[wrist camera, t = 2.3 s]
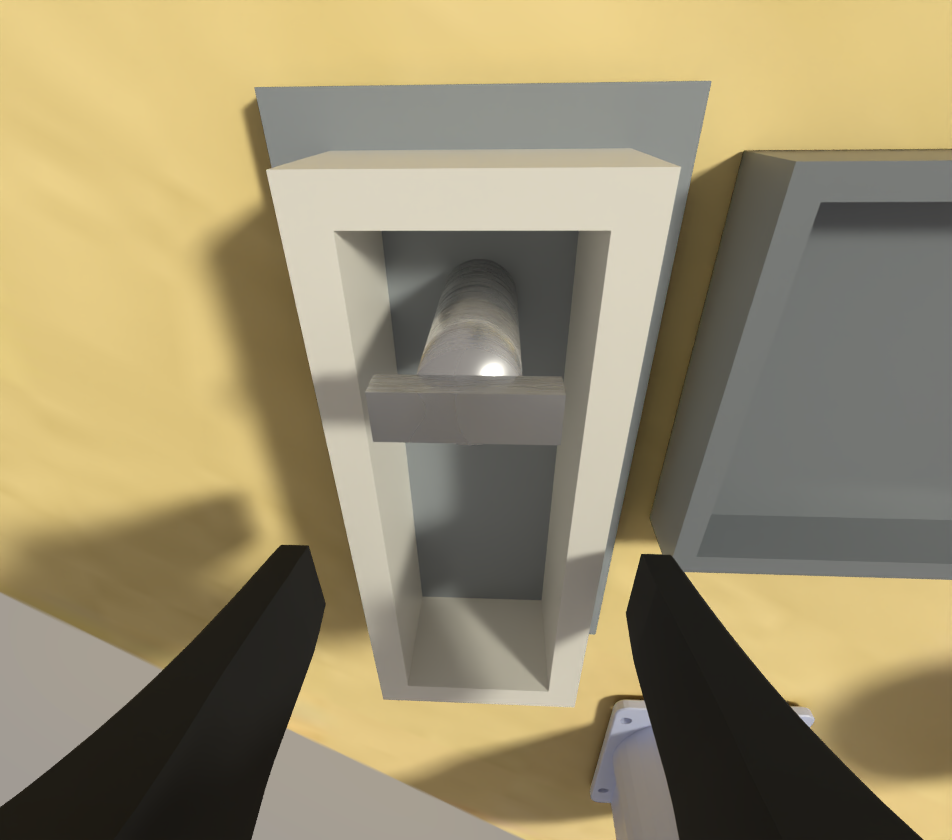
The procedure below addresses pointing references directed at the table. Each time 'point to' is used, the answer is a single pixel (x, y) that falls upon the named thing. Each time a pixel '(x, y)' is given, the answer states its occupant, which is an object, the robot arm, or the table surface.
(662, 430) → the table surface
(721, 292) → the tray
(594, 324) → the cream rectangular sleeve
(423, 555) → the stake base
